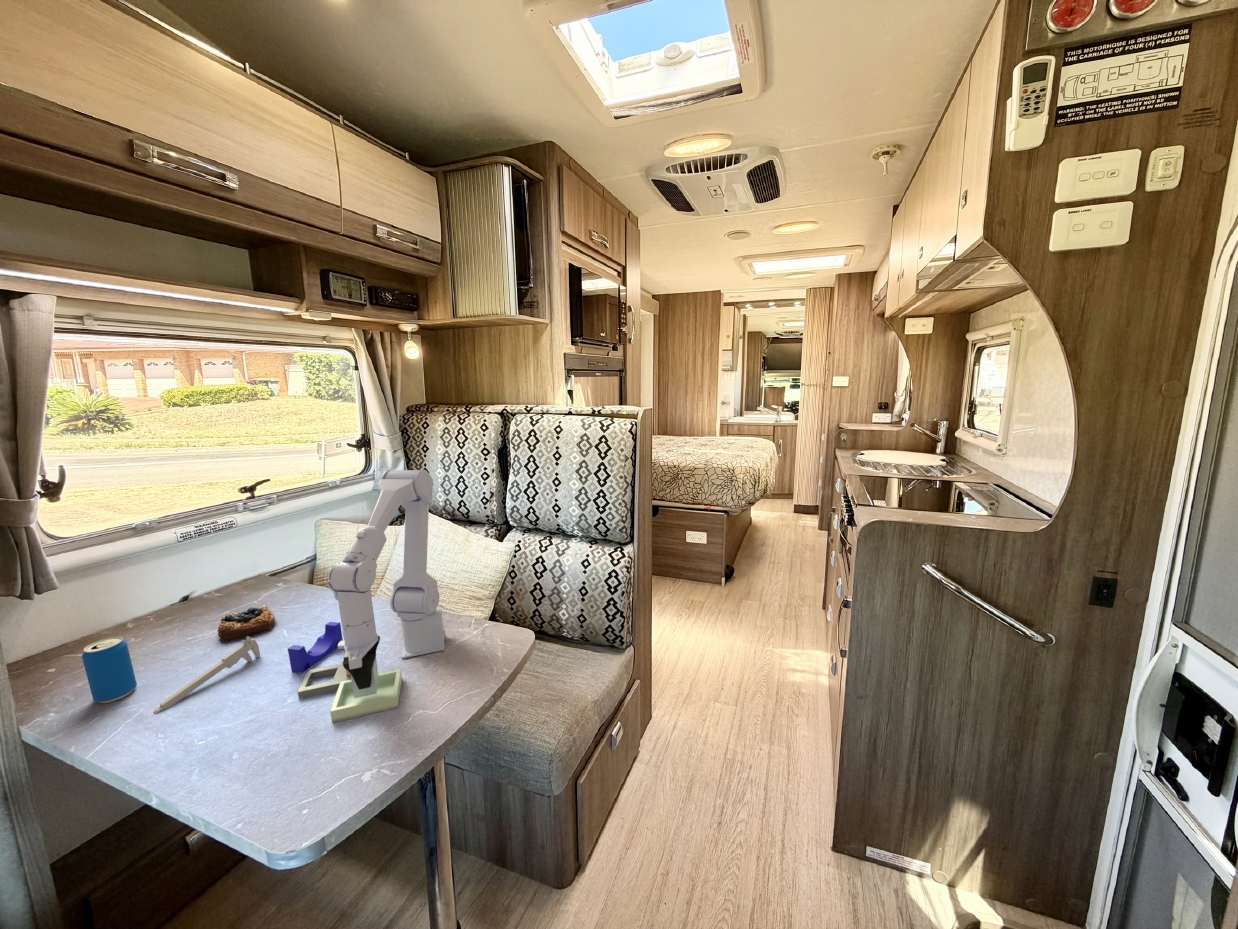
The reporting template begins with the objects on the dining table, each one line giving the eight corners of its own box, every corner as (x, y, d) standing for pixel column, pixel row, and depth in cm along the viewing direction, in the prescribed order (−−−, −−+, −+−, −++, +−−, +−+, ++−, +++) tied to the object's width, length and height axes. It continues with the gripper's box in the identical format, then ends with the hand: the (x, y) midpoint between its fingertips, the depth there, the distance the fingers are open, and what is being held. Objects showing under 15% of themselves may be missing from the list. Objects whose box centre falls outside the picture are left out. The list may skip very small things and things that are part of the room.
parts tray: (402, 679, 103) (400, 669, 103) (397, 707, 94) (396, 696, 94) (342, 692, 100) (340, 681, 99) (332, 723, 91) (330, 711, 90)
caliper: (257, 656, 114) (253, 633, 113) (260, 657, 114) (256, 633, 112) (153, 714, 95) (146, 686, 94) (157, 715, 95) (150, 687, 93)
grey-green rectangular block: (379, 681, 99) (375, 653, 98) (376, 693, 95) (372, 664, 94) (357, 686, 98) (353, 657, 97) (354, 698, 94) (349, 668, 93)
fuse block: (368, 664, 109) (365, 640, 108) (363, 684, 102) (359, 660, 101) (309, 676, 105) (305, 652, 104) (298, 698, 98) (294, 673, 97)
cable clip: (328, 643, 119) (324, 621, 118) (343, 644, 118) (340, 622, 117) (286, 672, 108) (282, 648, 106) (302, 674, 107) (298, 649, 106)
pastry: (220, 629, 128) (216, 609, 126) (275, 615, 135) (271, 596, 133) (217, 647, 119) (213, 625, 118) (276, 630, 126) (272, 610, 125)
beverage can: (105, 690, 102) (92, 640, 100) (143, 682, 105) (132, 633, 103) (86, 709, 97) (72, 656, 94) (128, 700, 99) (115, 648, 97)
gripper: (342, 606, 99) (351, 665, 102) (326, 642, 86) (336, 708, 88) (379, 600, 101) (387, 657, 104) (369, 634, 88) (378, 699, 90)
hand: (366, 680), depth 96 cm, fingers closed on grey-green rectangular block, 4 cm apart
